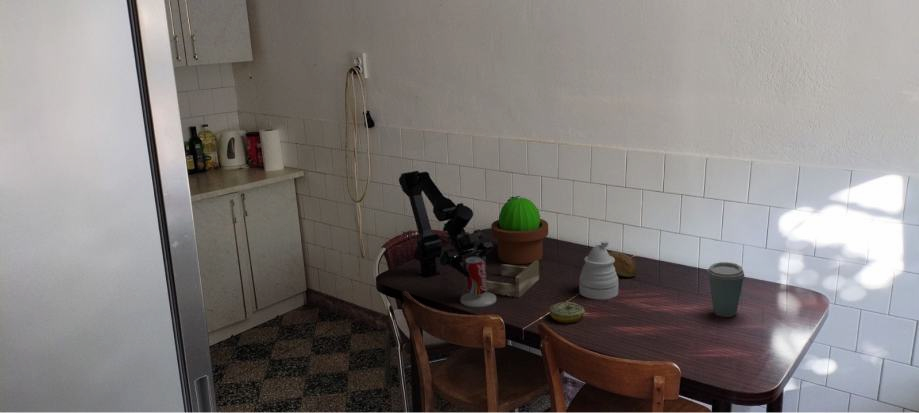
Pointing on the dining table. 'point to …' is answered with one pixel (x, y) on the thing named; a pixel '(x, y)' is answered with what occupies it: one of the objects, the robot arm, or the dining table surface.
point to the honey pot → (599, 274)
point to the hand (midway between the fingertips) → (477, 274)
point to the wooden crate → (523, 280)
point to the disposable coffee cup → (725, 287)
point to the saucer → (478, 300)
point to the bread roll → (624, 264)
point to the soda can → (476, 276)
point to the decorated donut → (566, 312)
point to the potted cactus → (519, 232)
